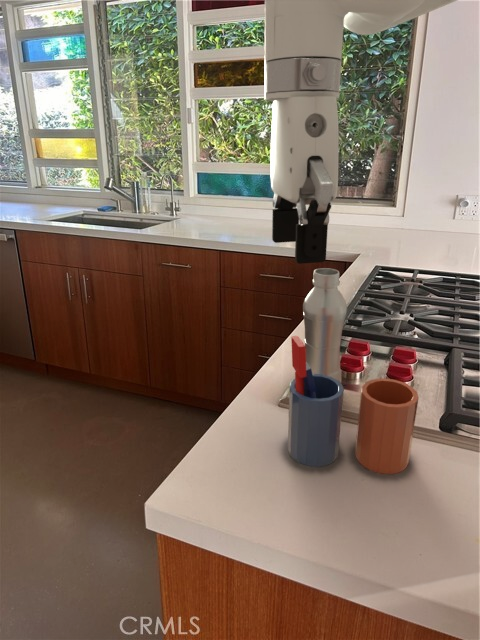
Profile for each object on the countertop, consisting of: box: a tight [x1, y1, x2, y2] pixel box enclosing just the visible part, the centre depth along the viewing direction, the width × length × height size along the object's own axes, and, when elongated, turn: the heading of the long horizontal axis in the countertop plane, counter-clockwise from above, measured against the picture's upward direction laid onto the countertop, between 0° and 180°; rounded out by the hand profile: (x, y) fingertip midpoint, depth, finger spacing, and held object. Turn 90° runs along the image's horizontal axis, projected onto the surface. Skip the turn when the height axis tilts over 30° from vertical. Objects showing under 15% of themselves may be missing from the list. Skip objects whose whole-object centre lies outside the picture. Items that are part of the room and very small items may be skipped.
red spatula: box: [290, 335, 306, 396], centre depth 56 cm, size 1×3×16 cm, turn 11°
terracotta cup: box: [354, 378, 420, 475], centre depth 57 cm, size 6×6×10 cm
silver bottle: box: [302, 267, 348, 384], centre depth 70 cm, size 6×7×20 cm
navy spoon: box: [304, 362, 316, 398], centre depth 57 cm, size 1×2×13 cm, turn 11°
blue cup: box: [287, 374, 344, 468], centre depth 58 cm, size 6×6×10 cm
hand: (296, 251), depth 53 cm, fingers open, 9 cm apart
